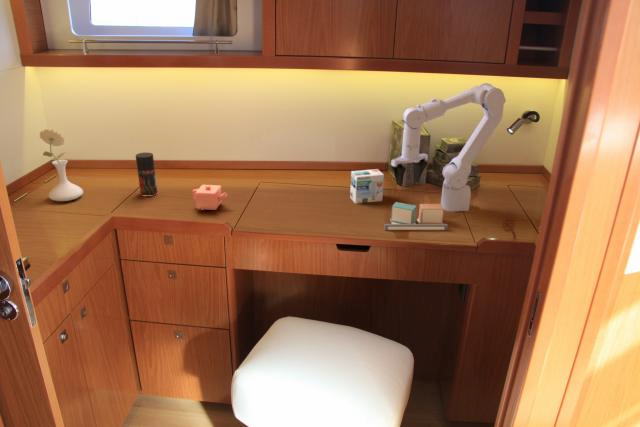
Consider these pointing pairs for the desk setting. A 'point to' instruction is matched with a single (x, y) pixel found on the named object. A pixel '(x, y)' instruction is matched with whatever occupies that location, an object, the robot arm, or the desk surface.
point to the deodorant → (146, 173)
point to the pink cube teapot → (208, 197)
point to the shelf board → (415, 226)
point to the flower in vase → (60, 170)
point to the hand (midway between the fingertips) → (407, 182)
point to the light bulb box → (366, 186)
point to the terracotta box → (431, 213)
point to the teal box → (403, 213)
